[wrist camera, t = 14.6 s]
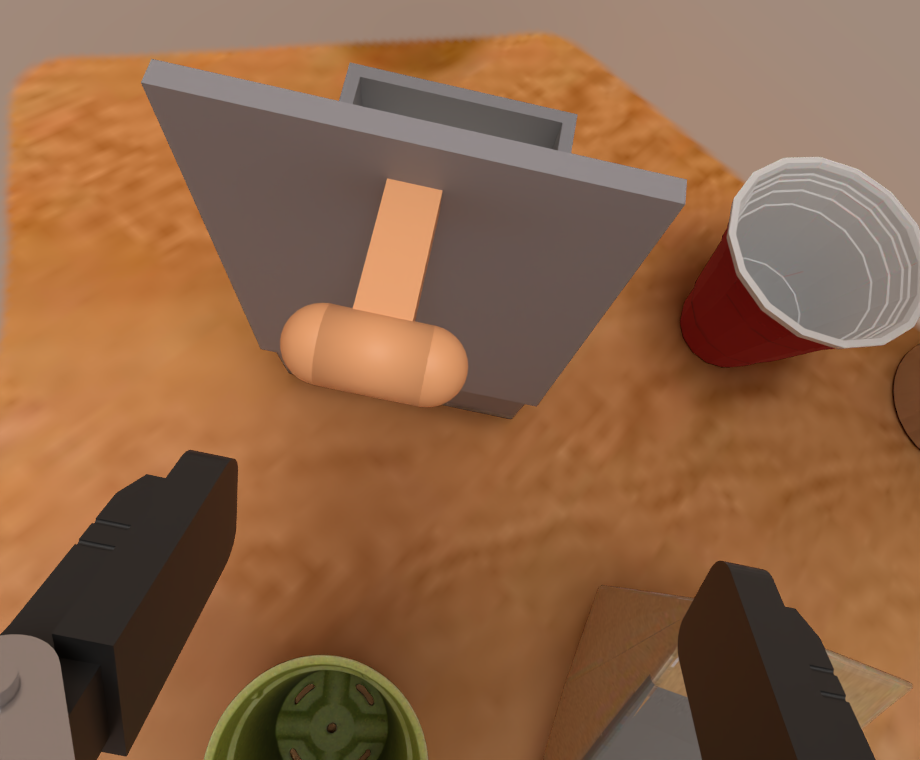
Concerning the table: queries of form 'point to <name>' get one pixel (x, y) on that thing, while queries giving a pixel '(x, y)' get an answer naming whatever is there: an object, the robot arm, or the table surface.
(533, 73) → the table surface
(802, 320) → the plastic cup
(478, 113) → the carton
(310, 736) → the plant pot
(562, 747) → the sandwich container
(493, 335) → the carton lid
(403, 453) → the table surface
